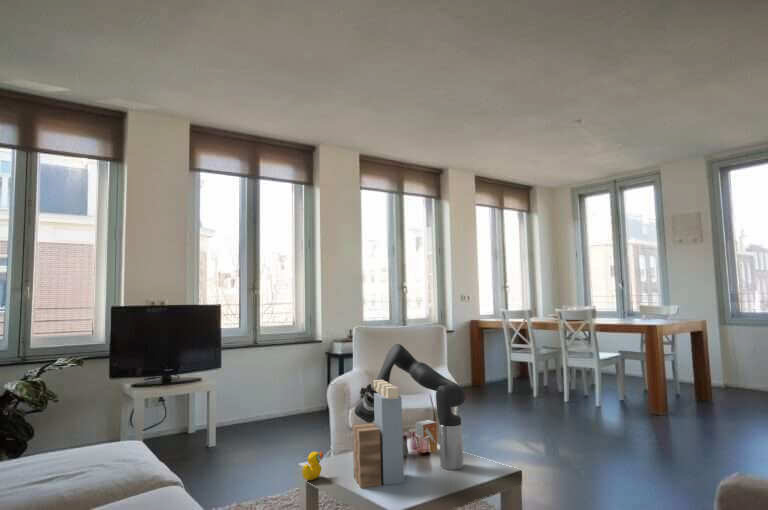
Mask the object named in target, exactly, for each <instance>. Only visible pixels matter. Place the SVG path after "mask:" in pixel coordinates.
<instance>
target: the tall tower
mask: <svg viewBox="0 0 768 510" xmlns="http://www.w3.org/2000/svg"><path fill="white" fill-rule="evenodd" d="M374 419H375V420H374V425H375V426H376V427H378V428H379V429H380V455H381V484H382V485H383V486H388V485H394V484H403V483H405V473H404V472H405V471H404V456H403V439H404V438H403V437H404V436H403V403H402V396H401V395H399V394H398V398H394V399H387V398H386V397H384V396H383V395H381V394H379V393H374Z"/></svg>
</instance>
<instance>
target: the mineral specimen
mask: <svg viewBox="0 0 768 510" xmlns="http://www.w3.org/2000/svg"><path fill="white" fill-rule="evenodd" d="M408 455H409V449H408V444H407V442H406V441H405V439H404V438H403V457H405V456H408Z"/></svg>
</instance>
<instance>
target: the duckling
mask: <svg viewBox="0 0 768 510" xmlns="http://www.w3.org/2000/svg"><path fill="white" fill-rule="evenodd" d="M323 456H324V455H323V452H322V451H320V453H319V452H318V451H312V452H310V454H309V455H308V456H307V463H308V464H304V465H303V467H302V476H303V479H305V480H307V481H313V480H316V479H318V478H319V476H320V475H321V473H322V465H321V464H320V463H321V460H322V459H323Z"/></svg>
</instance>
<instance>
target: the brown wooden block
mask: <svg viewBox="0 0 768 510" xmlns="http://www.w3.org/2000/svg"><path fill="white" fill-rule="evenodd" d="M352 444H353V445H352V448H353V449H352V452H353V479H354V478H355V479H354V480H355V482H356V481H357V482H356V484H357V485H358V484H359V485H358V487H359V488H360V489H363V488H364V487H365V488H371V487H372V486H373V487H379V486H380V485H381V486H382V482H381V455H380V429H379V428H378V427H376V426H375V423H374V422H372V423H367V422H364V423H356V424H355V423H354V424H352ZM373 487H372V488H373Z"/></svg>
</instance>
